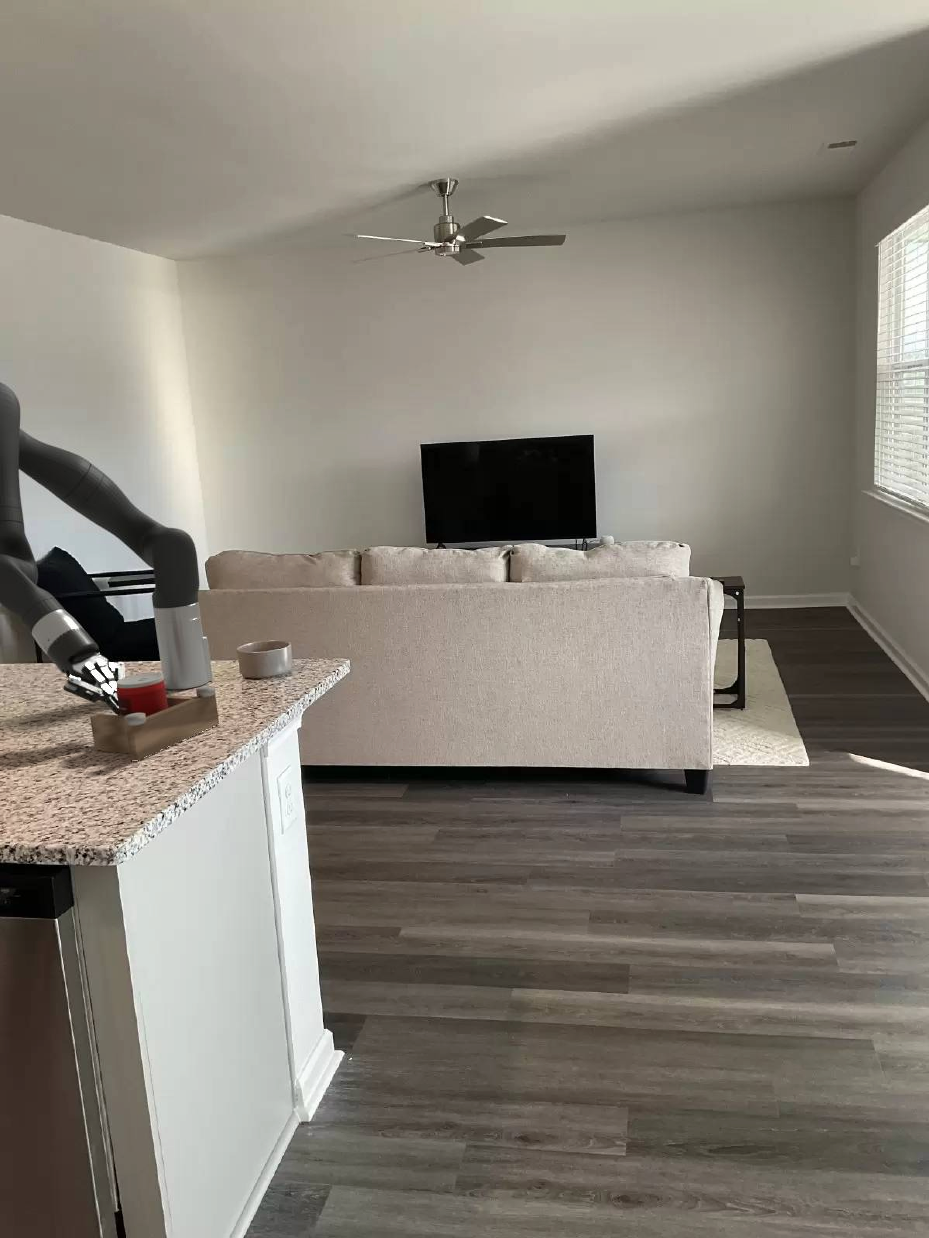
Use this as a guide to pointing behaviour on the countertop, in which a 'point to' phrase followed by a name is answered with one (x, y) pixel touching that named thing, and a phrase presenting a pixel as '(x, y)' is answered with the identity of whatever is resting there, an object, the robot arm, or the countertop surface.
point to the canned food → (141, 694)
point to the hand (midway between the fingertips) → (125, 712)
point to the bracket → (156, 725)
